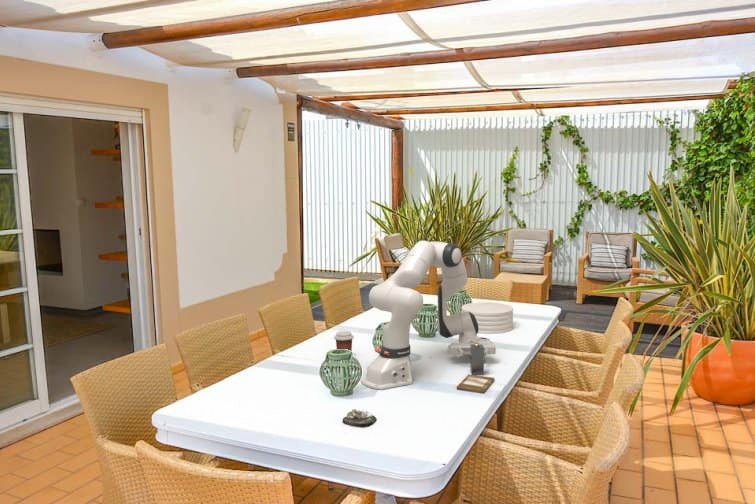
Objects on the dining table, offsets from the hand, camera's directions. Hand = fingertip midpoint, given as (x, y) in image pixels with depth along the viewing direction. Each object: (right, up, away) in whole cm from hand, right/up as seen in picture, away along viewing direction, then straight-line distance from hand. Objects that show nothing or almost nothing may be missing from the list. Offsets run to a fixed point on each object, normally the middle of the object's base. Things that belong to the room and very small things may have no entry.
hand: (474, 353), depth 259 cm
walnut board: (-3, -9, -21) cm, 23 cm away
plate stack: (+18, +2, +70) cm, 73 cm away
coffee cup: (-58, -5, +19) cm, 61 cm away
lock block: (0, -7, -6) cm, 10 cm away
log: (-48, -15, -54) cm, 74 cm away
